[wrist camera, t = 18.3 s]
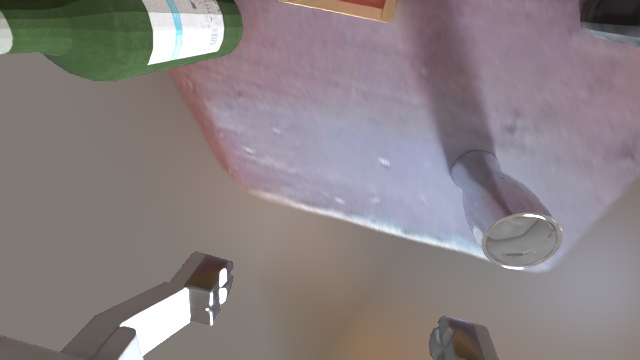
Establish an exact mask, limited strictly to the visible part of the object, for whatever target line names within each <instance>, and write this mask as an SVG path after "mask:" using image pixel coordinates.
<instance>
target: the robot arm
mask: <svg viewBox="0 0 640 360" xmlns="http://www.w3.org/2000/svg"><path fill="white" fill-rule="evenodd" d="M232 269H233V262H232V261H229V260H226V259H222V258H218V257H215V256H212V255H208V254H204V253H201V252H197V251H196V252H194V253H193V254H191V256H190V257H189V258H188V259H187V261H186V262H185V263H184V264H183V266H182V267H181V268H180V270H179V271H178V272H177V273H176V275H175V276H174V277H173V278H172V280H171V281H170V282H169V283H168V282H164V283H162V284H160V285H158V286H156V287H154V288H152V289H150V290H148V291H145V292H143V293H141V294H139V295H137V296H135V297H133V298H131V299H129V300H127V301H125V302H123V303H121V304H118V305H116V306H114V307H113V308H110V309H108V310H106V311H104V312H102V313H100V314H98V315H96V316H94V317H93V319H91V320H90V322H89V323H88V324H87V325H86V326H85V327H84V328H83V329H82V330H81V331H80V332H79V333H78V334H77V335H76V336H75V337H74V338H73V339H72V341H70V342H69V343H68V344H67V346H66V347H65V348H64V349H63V350H62V351H61V352H58V351H54V350H51V349H47V348H44V347H40V346H37V345H34V344H30V343H27V342H23V341H20V340H17V339H13V338H10V337H6V336H3V335H0V360H143V355H144V354H146V353H147V352H148V351H150V350H151V349H153V348H154V347H155V346H157V345H158V344H159V343H161V342H162V341H163V340H165V339H166V338H168V337H169V336H171V335H172V334H173V333H175V332H176V331H177V330H179V329H180V328H182V327H183V326H184V325H186V324H187V323H189V320H190V321H195V322H198V323H202V324H207V325H212V324H213V322H214V320H215V319H216V316H217V315H218V313H219V311H220V303H222V302H223V301H225V300H226V298H227V296H228V294H229V292H230V289H231V286H232V282H233V275H232V274H231V271H232ZM438 324H439V327H437V328H434V329H433V331H432V333H431V335H430V340H429V350H430V355H431V357H432V358H433V360H499V359H498V356H497V353H496V351H495V348H494V345H493V343H492V340H491V337H490V334H489V332H488V329H487V328H486V327H485V326H482V325H478V324H474V323H470V322H466V321H463V320H459V319H455V318H451V317H446V316H442V317H441V318H440V319H439V321H438Z"/></svg>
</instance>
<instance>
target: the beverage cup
mask: <svg viewBox="0 0 640 360" xmlns="http://www.w3.org/2000/svg"><path fill="white" fill-rule="evenodd" d="M581 25H582V28H583V30H584V31H585V32H586V33H588V34H590V35H592V36H597V37H599V38H601V39H605V40H610V41H614V42H618V43H623V44H627V45H631V46H636V47H640V0H589V1H588V3H587V4H586V5H585V7H584V9H583V12H582V14H581Z"/></svg>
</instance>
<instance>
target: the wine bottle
mask: <svg viewBox="0 0 640 360" xmlns="http://www.w3.org/2000/svg"><path fill="white" fill-rule="evenodd" d="M242 27H243V26H242V19H241V14H240V12H239V9H238V7H237V4H236V3H235V1H234V0H0V54H13V53H31V52H40V53H43V54H44V55H45V56H46V57H47V58H48V59H49V60H51V61H52V62H53V63H55V64H56V65H58V66H59V67H61V68H62V69H64V70H66V71H67V72H68V73H71V74H74V75H77V76H80V77H83V78H85V79H88V80H92V81H118V80H122V79H126V78H131V77H135V76H139V75H144V74H148V73H152V72H157V71H161V70H165V69H169V68H174V67H178V66H182V65H187V64H191V63H195V62H199V61H204V60H208V59H212V58H217V57H221V56H224V55H226V54H229V53H231V52H232V51H233V50H234V49H235V48H236V47H237V45H238V43H239V41H240V39H241V34H242Z"/></svg>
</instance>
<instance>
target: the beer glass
mask: <svg viewBox="0 0 640 360" xmlns="http://www.w3.org/2000/svg"><path fill="white" fill-rule="evenodd" d="M451 178H452V181H453V182H454V184H455V185H456V186H457V187H458V188H459V189H460V190H461V192H462V198H463V206H464V211H465V216H466V219H467V222H468V224H469V227H470V229H471V231H472V233H473V235H474V236H475V238H476V240H477V241H478V243H479V245H480V246H481V248H482V250H483V252H484V254H485V255H486V257H487V258H488V259H489V260H490V261H492V262H493V263H495V264H497V265H500V266H503V267H507V268H526V267H531V266H534V265H537V264H540V263H542V262H544V261H545V260H547V259H549V258H550V257H551V256H552V255H553V254H554V253H555V252H556V251H557V250H558V248H559V247H560V245H561V242H562V230H561V228H560V226H559V225H558V223H557V222H556V221H555V220H554V219H553V217H552V216H551V214H550V213H549V211H548V210H547V209H546V207H545V206H544V205H543V203H542V202H541V201H540V200H539V198H538V197H537V196H536V195H535V194H534V193H533V192H532V191H531V190H530V189H529V188H527V187H526V186H525V185H523V184H522V183H521V182H519V181H518V180H516V179H514V178H513V177H511V176H510V175H508V174H506V173H505V172H504V171H502V169H501V167H500V164H499V162H498V160H497V158H496V157H495V156H494V155H493V154H491V153H489V152H487V151H483V150H473V151H469V152H466V153H464V154H462V155H461V156H459V157H458V158H457V159H456V160H455V162H454V163H453V165H452V167H451Z"/></svg>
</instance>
